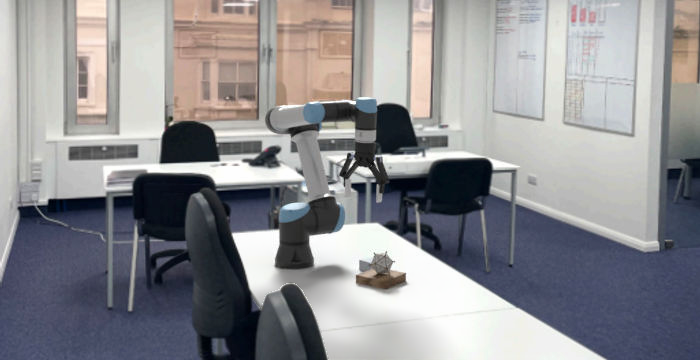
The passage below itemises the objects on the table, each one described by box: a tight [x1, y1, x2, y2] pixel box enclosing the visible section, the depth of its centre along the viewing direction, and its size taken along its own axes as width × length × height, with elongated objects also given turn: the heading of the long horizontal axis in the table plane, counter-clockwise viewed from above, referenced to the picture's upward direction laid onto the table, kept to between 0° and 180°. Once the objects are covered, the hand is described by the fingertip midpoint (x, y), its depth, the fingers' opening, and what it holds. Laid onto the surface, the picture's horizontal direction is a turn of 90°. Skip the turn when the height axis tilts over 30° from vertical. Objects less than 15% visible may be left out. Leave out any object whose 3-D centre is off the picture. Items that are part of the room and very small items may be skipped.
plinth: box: [355, 268, 407, 291], centre depth 292 cm, size 13×13×3 cm
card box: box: [358, 255, 374, 272], centre depth 310 cm, size 6×9×4 cm, turn 132°
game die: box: [368, 250, 396, 275], centre depth 291 cm, size 9×8×10 cm
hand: (363, 199), depth 294 cm, fingers open, 13 cm apart
